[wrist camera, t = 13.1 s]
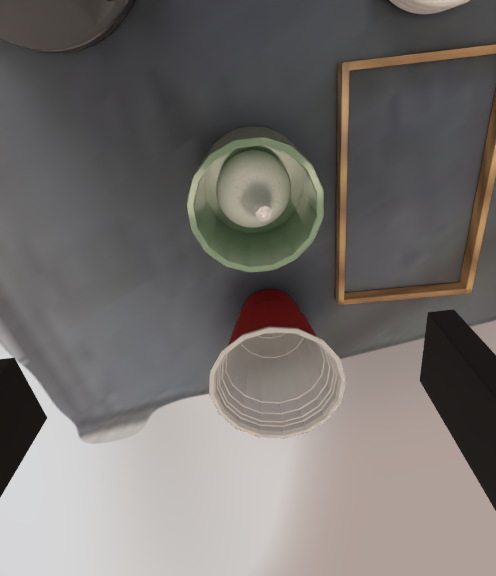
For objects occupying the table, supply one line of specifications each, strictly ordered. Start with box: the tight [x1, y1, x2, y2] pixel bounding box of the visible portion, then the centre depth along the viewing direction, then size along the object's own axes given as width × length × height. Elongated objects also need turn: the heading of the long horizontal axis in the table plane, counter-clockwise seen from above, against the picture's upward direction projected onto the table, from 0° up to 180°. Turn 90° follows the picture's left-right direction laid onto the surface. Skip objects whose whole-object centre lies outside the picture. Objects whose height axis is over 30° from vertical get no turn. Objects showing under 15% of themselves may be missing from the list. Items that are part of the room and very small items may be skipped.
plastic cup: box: [209, 289, 346, 438], centre depth 35 cm, size 11×11×12 cm
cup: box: [187, 126, 324, 272], centre depth 30 cm, size 10×10×8 cm
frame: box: [336, 44, 496, 305], centre depth 33 cm, size 21×13×1 cm, turn 6°
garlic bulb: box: [216, 150, 291, 228], centre depth 29 cm, size 6×6×8 cm
